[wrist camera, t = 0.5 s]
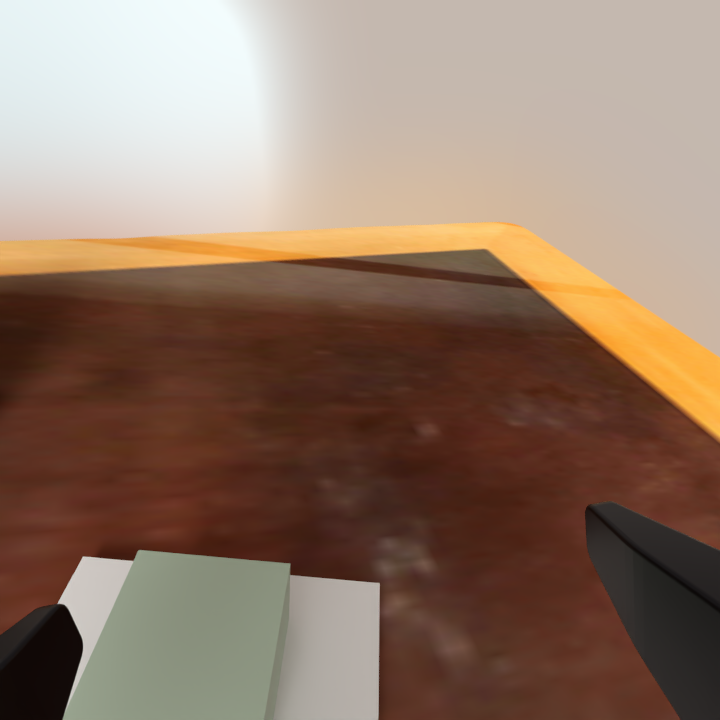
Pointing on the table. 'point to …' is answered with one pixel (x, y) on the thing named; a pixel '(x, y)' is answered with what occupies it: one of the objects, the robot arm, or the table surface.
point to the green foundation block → (189, 642)
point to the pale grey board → (302, 645)
